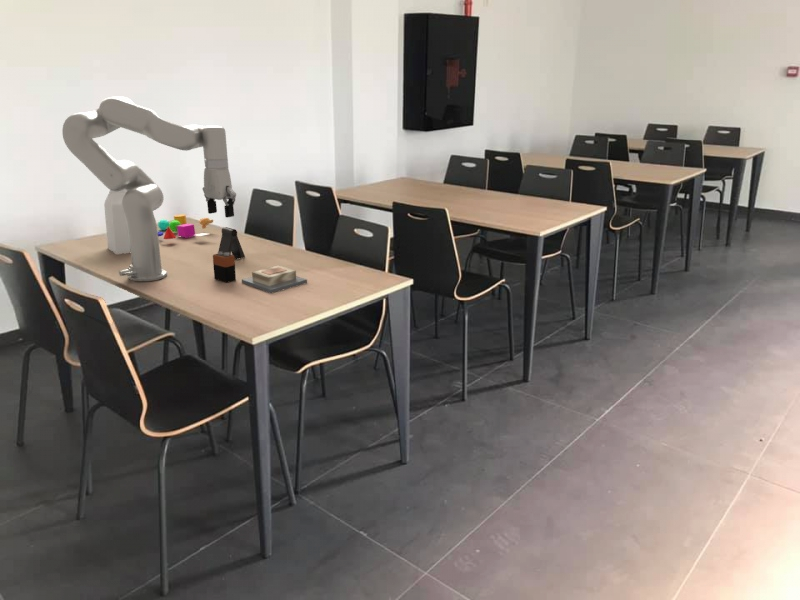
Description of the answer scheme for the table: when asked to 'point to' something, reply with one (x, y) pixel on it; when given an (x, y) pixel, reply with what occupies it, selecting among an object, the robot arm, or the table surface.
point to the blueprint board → (277, 286)
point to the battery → (224, 267)
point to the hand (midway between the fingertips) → (221, 214)
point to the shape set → (181, 227)
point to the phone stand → (231, 243)
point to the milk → (116, 223)
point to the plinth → (274, 275)
